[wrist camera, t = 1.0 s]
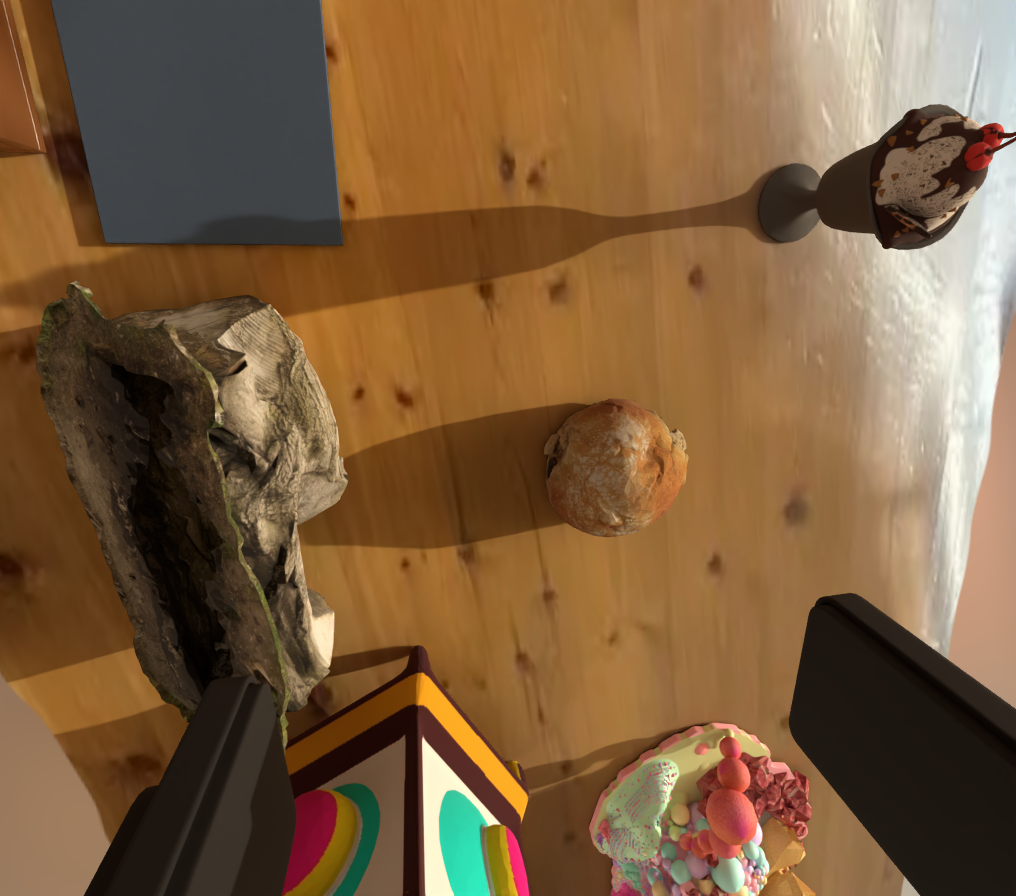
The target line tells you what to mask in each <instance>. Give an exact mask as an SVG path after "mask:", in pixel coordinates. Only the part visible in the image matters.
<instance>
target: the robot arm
mask: <svg viewBox="0 0 1016 896" xmlns="http://www.w3.org/2000/svg"><path fill="white" fill-rule="evenodd" d="M789 727H790V731H791V734H792V736H793V738H794V740H795V741H796V743H797V744H798V746H799V747H800V748H801V749H802V751H803V752H804V753H805V754H806V755H807V757H808V758H809V759H810V760H811V762H812V763H813V764H814V765H815V767H816V768H817V769H818V770H819V771H820V773H821V774H822V775H823V776H824V778H825V779H826V780H827V781H828V783H829V784H830V785H831V786H832V788H833V789H834V790H835V791H836V792H837V794H838V795H839V796H840V797H841V799H842V800H843V801H844V802H845V804H846V805H847V806H848V807H849V808H850V810H851V811H852V812H853V813H854V815H855V816H856V817H857V818H858V820H859V821H860V822H861V823H862V824H863V826H864V827H865V828H866V829H867V831H868V832H869V833H870V834H871V836H872V837H873V838H874V839H875V840H876V842H877V843H878V844H879V845H880V847H881V848H882V849H883V850H884V852H885V853H886V854H887V855H888V856H889V858H890V859H891V860H892V861H893V863H894V864H895V865H896V866H897V868H898V869H899V870H900V871H901V872H902V874H903V875H904V876H905V877H906V879H907V880H908V881H909V882H910V884H911V885H912V886H913V887H914V889H915V890H916V891H917V892H918V893H919V895H920V896H1016V709H1015V708H1014V707H1012V706H1011V705H1010V704H1008V703H1007V702H1005V701H1004V700H1003V699H1001V698H1000V697H999V696H997V695H996V694H994V693H993V692H991V691H990V690H989V689H988V688H986V687H985V686H983V685H982V684H981V683H979V682H978V681H976V680H975V679H974V678H972V677H971V676H970V675H968V674H967V673H965V672H964V671H963V670H961V669H960V668H959V667H957V666H956V665H954V664H953V663H952V662H950V661H949V660H948V659H946V658H945V657H943V656H942V655H941V654H939V653H938V652H937V651H935V650H934V649H932V648H931V647H930V646H928V645H927V644H926V643H924V642H923V641H921V640H920V639H919V638H917V637H916V636H915V635H913V634H912V633H910V632H909V631H908V630H906V629H905V628H904V627H902V626H901V625H899V624H898V623H897V622H895V621H894V620H893V619H891V618H890V617H888V616H887V615H886V614H884V613H883V612H882V611H880V610H879V609H877V608H876V607H875V606H873V605H872V604H871V603H869V602H868V601H866V600H865V599H864V598H862V597H861V596H859V595H857V594H853V593H847V594H840V595H832V596H825V597H821V598H819V599H818V600H817V601H816V604H815V607H813V608H812V609H811V610H810V612H809V616H808V622H807V627H806V632H805V637H804V643H803V648H802V653H801V659H800V664H799V669H798V674H797V680H796V685H795V690H794V695H793V701H792V706H791V711H790V716H789ZM295 830H296V805H295V800H294V796H293V791H292V786H291V782H290V777H289V773H288V768H287V763H286V759H285V754H284V750H283V745H282V740H281V736H280V731H279V726H278V722H277V717H276V713H275V708H274V703H273V699H272V694H271V690H270V686H269V684H268V683H260V684H258V682H257V679H256V677H255V676H254V675H245V676H237V677H230V678H223V679H215V680H213V681H212V682H210V684H209V685H208V687H207V689H206V691H205V693H204V695H203V697H202V699H201V701H200V703H199V705H198V707H197V709H196V711H195V713H194V715H193V717H192V719H191V721H190V723H189V725H188V727H187V729H186V731H185V733H184V735H183V737H182V739H181V741H180V743H179V745H178V747H177V749H176V751H175V753H174V755H173V757H172V759H171V761H170V763H169V765H168V767H167V769H166V771H165V773H164V775H163V777H162V779H161V781H160V783H159V785H157V786H152V787H148V788H146V789H145V790H143V791H142V792H141V793H140V794H139V795H138V796H137V798H136V800H135V801H134V803H133V804H132V806H131V807H130V809H129V811H128V813H127V815H126V817H125V819H124V820H123V822H122V824H121V826H120V828H119V830H118V832H117V834H116V836H115V838H114V839H113V841H112V843H111V845H110V847H109V849H108V851H107V853H106V855H105V857H104V858H103V860H102V862H101V864H100V866H99V868H98V870H97V872H96V874H95V876H94V877H93V879H92V881H91V883H90V885H89V887H88V889H87V891H86V892H85V894H84V896H282V893H283V888H284V883H285V879H286V874H287V869H288V864H289V860H290V855H291V850H292V845H293V841H294V836H295Z"/></svg>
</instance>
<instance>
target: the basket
mask: <svg viewBox="0 0 1016 896" xmlns="http://www.w3.org/2000/svg"><path fill="white" fill-rule="evenodd" d="M0 152H24V153H47V151H46V147H45V143H44V139H43V135H42V131H41V127H40V123H39V119H38V115H37V111H36V107H35V103H34V98H33V94H32V90H31V86H30V82H29V78H28V74H27V70H26V66H25V62H24V58H23V54H22V50H21V46H20V41H19V37H18V33H17V29H16V25H15V21H14V17H13V13H12V9H11V5H10V1H9V0H0Z"/></svg>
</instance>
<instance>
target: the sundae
mask: <svg viewBox="0 0 1016 896" xmlns="http://www.w3.org/2000/svg"><path fill="white" fill-rule="evenodd" d="M1014 136H1016V132H1014V133H1004V130H1003V127H1002V126H1001V125H1000V124H998V123H992V124H988V125H985V126H983V127H981V126H980V125H979V124H978V123H976V122H975V121H973V120H971V119H968V117H964V116H963V115H961V114H960V113H958V112H957V111H956V110H954V109H952V108H950V107H949V106H946V105H940V104H938V105H928V106H926V107H923V108H921V109H913V110H910V111H908V112H907V113H906V114H905V115H904V117H903V119H902V120H900V121H899V122H898V123H897V124H895V125H894V126H893V127H892V128H891V129H890V130H889V131H887V132H886V133H885V134H884V135H883V136H882V137H881V138H880V140H879V141H878V142H876V143H874V144H872V145H869V146H867V147H865V148H863V149H860V150H858V151H856V152H854V153H852V154H850V155H849V156H847V157H845V158H844V159H842V160H840V161H838V162H837V163H835V164H834V165H832V166H831V167H830V168H829V169H828V170H827V171H826V172H825V173H824V175H823V176H822V178H820V176H819V175H818V173H817V172H816V171H815V170H814V169H812V168H811V167H809V166H807V165H804V164H790V165H788V166H785V167H783V168H781V169H780V170H778V171H777V172H776V173H775V174H774V175H773V176H772V177H771V178H770V179H769V180H768V182H767V183H766V185H765V187H764V189H763V192H762V194H761V197H760V203H759V216H760V221H761V224H762V227H763V228H764V230H765V232H766V233H767V234H768V235H769V236H770V237H771V238H773V239H774V240H777V241H779V242H794V241H797V240H799V239H801V238H803V237H805V236H806V235H807V234H808V233H809V232H810V231H811V230H812V229H813V228H814V227H815V226H816V224H817V223H818V221H819V219H821V221H822V222H823V223H824V224H825V225H827V226H829V227H830V228H833V229H838V230H843V231H847V232H857V233H871V234H875V236H876V238H877V239H878V240H879V242H880V243H881V244H882V247H883V248H884V249H889V248H894V249H898V250H910V249H918V248H923V247H926V246H928V245H931V244H933V243H935V242H937V241H939V240H940V239H942V238H943V237H944V236H946V235H947V234H948V233H949V232H950V231H951V229H952V228H953V227H954V226H955V224H956V223H957V221H958V220H959V218H960V216H961V214H962V213H963V211H964V209H965V207H966V206H967V204H968V202H969V200H970V199H971V198H972V197H973V195H974V194H975V193H976V192H977V190H978V189H979V188H980V186H981V185H982V184H983V182H984V180H985V178H986V175H987V172H988V165H989V163H990V162H991V160H992V158H993V154H994V153H995V152H996V151H998V150H1000V149H1002V148H1004V147H1005V146H1007V145H1009V144H1011V143H1013V142H1014V141H1016V137H1015V138H1013V139H1011V140H1010V141H1008V142H1006V143H1004V144H1002V145H1000V143H1001V142H1002V140H1003V138H1012V137H1014ZM999 145H1000V146H999Z"/></svg>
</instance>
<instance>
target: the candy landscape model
mask: <svg viewBox="0 0 1016 896" xmlns="http://www.w3.org/2000/svg"><path fill="white" fill-rule="evenodd" d="M769 757H770V751H769V750H768V748H767V747H766V745H764V744H762V743H760V742H759V740H758V739H757V738H756V736H754V735H748V734H747V733H745V732H744V731H743V730H740V729H738V728H737V726H736V725H732V724H722V723H709V724H708V725H706V726H693V727H691V728H690V729H688V730H686V731H684V732H683V733H681V734H674V735H673V736H671V737H669V738H667V739H666V740H665V741H663V742H661V743H660V744H659V746H658V747H657V748H655V749H651V750H648V751H647V752H645V753H643V754H641V755H640V757H639V759H638V760H637V761H635V762H633V763H632V764H630V765H628V766H626V767H625V768H624V769H622V770H620V771H619V773H618V776H617V778H616V780H615V781H613V782H611V783H610V785H609V787H608V788H607V789H605V790H603V791H602V793H601V795H600V798H599V800H598V803H597V806H596V809H595V812H594V815H593V818H592V820H591V823H590V826H589V830H590V833H591V837H592V841H593V844H594V846H596V848H597V849H598V850H599V852H600V853H602V854H607V855H608V856H609V857H610V858H613V866H612V869H611V873H612V876H613V878H612V881H611V882H612V886H613V888H612V890H611V896H816V894H815V893H814V892H813V891H812V890H811V889H809V888H808V887H807V886H806V885H805V884H804V883H803V882H802V881H801V880H799V879H798V878H797V877H796V876H795V875H794V874H793V873H792V872H790V873H789V870H788V867H789V868H790V870H791V868H792V865H795V867H796V866H797V864H798V863H799V862H800V861H801V860H802V858H803V857H804V856H805V855H806V854H805V852H804V851H805V849H804V845H803V842H802V841H800V839H802V838H804V837H805V836H806V835H807V833H808V829H807V824H806V823H804V822H807V821H808V820H809V819H811V815H812V803H811V802H807V800H808V791H809V782H808V779H807V777H805V776H804V775H802V774H801V773H799V772H798V771H796V770H795V772H794V773H793V774H792V773H791V771H790V769H789V768H788V767H787V765H786V764H785V763H782V762H772V760H771V759H770V758H769Z"/></svg>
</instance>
